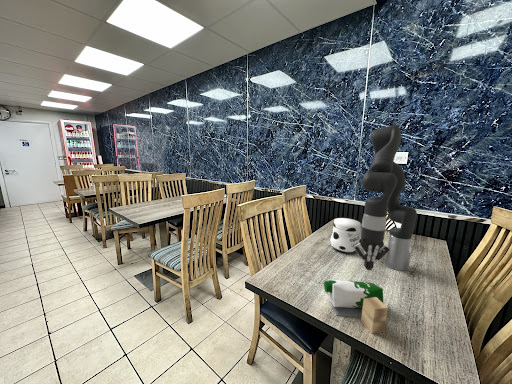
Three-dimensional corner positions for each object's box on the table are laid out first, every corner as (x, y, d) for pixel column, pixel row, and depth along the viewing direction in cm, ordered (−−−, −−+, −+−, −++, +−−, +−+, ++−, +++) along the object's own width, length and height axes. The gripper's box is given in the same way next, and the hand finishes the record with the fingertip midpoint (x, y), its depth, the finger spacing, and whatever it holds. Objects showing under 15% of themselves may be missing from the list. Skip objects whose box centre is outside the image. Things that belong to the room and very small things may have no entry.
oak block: (373, 319, 71) (376, 297, 70) (384, 331, 66) (388, 307, 65) (360, 321, 70) (363, 298, 69) (371, 333, 66) (374, 309, 64)
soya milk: (384, 286, 73) (328, 283, 74) (385, 313, 71) (328, 309, 73) (372, 280, 81) (322, 277, 83) (373, 303, 80) (322, 300, 82)
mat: (362, 291, 86) (362, 290, 86) (381, 318, 72) (382, 317, 71) (325, 288, 87) (325, 288, 87) (336, 315, 73) (336, 314, 73)
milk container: (361, 257, 116) (365, 228, 113) (330, 252, 121) (332, 224, 118) (357, 245, 132) (360, 219, 129) (329, 241, 137) (331, 216, 134)
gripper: (386, 223, 77) (380, 264, 80) (351, 222, 78) (346, 262, 81) (398, 230, 69) (391, 275, 72) (359, 229, 70) (354, 273, 73)
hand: (368, 268), depth 76 cm, fingers closed
